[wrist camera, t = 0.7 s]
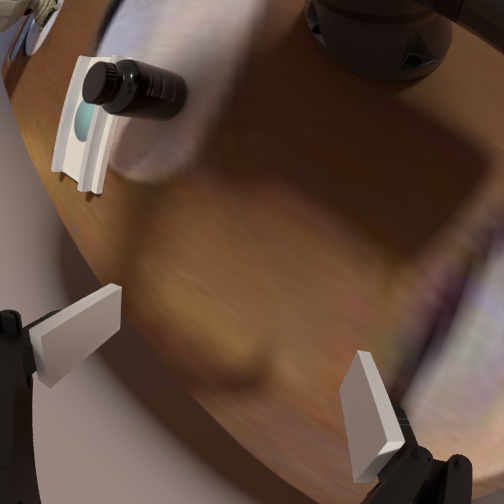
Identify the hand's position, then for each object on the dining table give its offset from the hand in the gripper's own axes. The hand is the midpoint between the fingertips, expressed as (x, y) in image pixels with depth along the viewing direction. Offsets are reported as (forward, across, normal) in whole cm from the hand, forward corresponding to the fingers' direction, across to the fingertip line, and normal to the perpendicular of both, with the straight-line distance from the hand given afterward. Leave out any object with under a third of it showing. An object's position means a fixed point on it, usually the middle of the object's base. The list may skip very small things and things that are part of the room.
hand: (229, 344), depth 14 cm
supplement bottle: (+21, -17, +17) cm, 32 cm away
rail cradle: (+27, -34, +15) cm, 45 cm away
